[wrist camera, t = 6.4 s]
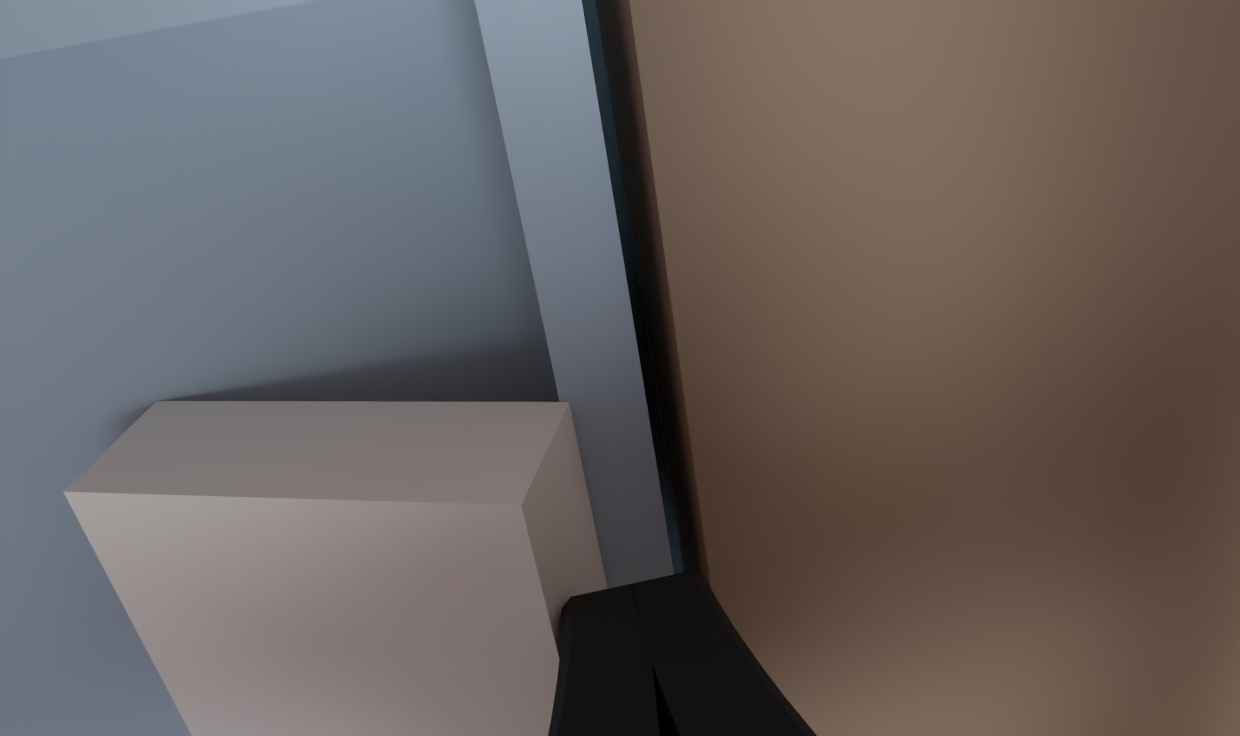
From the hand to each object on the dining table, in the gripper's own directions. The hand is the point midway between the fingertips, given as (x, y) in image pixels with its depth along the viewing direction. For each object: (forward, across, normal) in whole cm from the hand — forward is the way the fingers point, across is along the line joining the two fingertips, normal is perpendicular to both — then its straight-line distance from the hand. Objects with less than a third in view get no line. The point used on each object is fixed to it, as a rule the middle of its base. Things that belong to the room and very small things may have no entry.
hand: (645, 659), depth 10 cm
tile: (+2, +2, 0) cm, 3 cm away
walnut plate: (+3, -5, 0) cm, 6 cm away
